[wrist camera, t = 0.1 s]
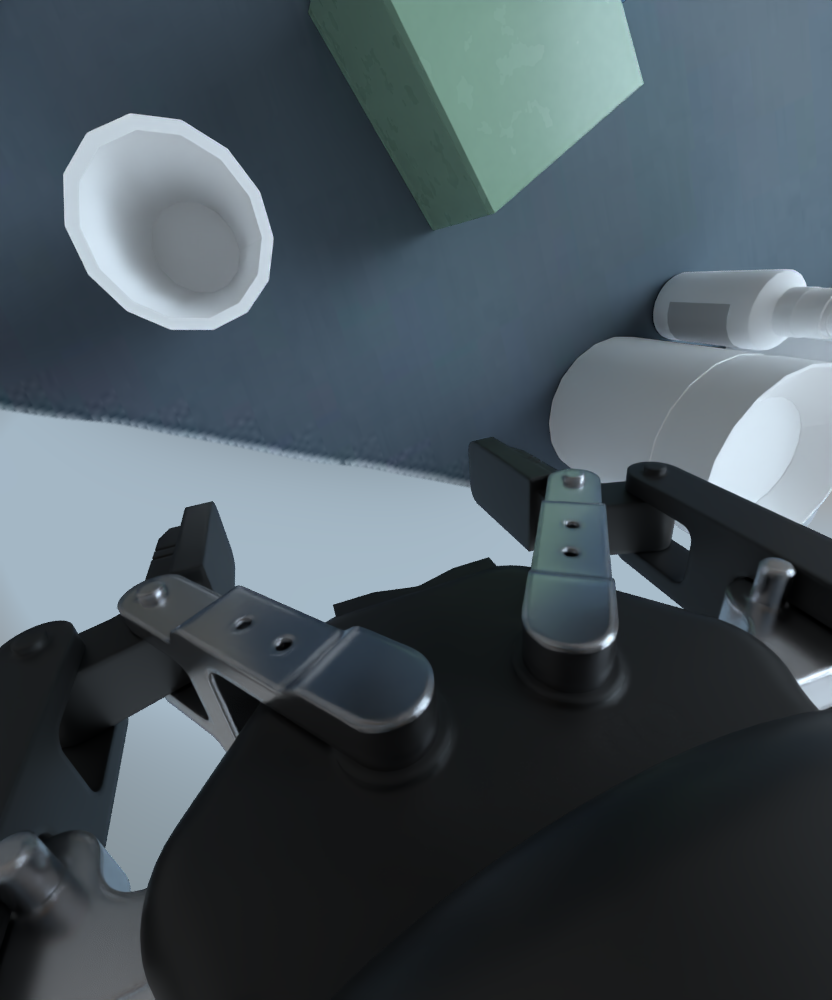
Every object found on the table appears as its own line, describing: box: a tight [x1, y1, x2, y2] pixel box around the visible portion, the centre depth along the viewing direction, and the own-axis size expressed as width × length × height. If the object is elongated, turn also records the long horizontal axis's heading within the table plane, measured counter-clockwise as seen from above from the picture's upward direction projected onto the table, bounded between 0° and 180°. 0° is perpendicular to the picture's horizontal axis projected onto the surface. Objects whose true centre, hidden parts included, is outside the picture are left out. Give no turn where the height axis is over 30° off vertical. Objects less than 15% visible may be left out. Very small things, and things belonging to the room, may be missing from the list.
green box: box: [308, 0, 489, 231], centre depth 30 cm, size 16×13×10 cm
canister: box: [549, 337, 832, 534], centre depth 44 cm, size 16×16×20 cm
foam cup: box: [63, 113, 274, 330], centre depth 28 cm, size 10×9×13 cm
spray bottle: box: [653, 269, 832, 350], centre depth 42 cm, size 7×7×18 cm
